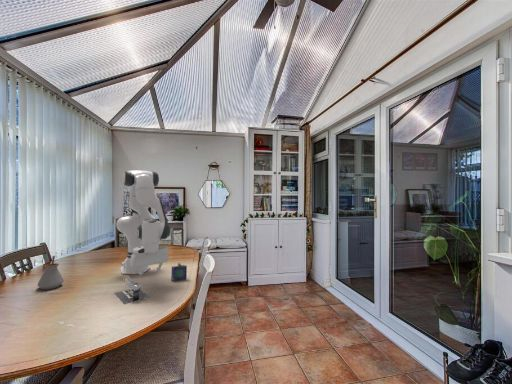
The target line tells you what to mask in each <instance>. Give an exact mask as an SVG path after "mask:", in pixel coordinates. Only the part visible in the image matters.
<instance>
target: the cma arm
mask: <svg viewBox="0 0 512 384" xmlns="http://www.w3.org/2000/svg"><path fill="white" fill-rule="evenodd" d="M122 282H123V283H125V284H126V285H127V286H128V287H129V289H131V291H133V292H135V291H139V290H142V284H141V283H137V281H135V280H134V279H133V278H131V276H130V274H127V275H125V276H122Z"/></svg>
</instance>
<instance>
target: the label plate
mask: <svg viewBox="0 0 512 384" xmlns="http://www.w3.org/2000/svg"><path fill="white" fill-rule="evenodd" d="M129 289H130V290H129ZM129 289H125V290H126V291H125V290H122V291H123V293H124V294H125V295H127V294H131V293H133V291H131V288H129Z"/></svg>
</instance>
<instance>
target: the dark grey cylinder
mask: <svg viewBox="0 0 512 384" xmlns="http://www.w3.org/2000/svg"><path fill="white" fill-rule="evenodd" d="M133 300H134V302H136V301H135V300H138V301H140V300H139V291H135V292H133Z"/></svg>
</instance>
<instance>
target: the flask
mask: <svg viewBox="0 0 512 384" xmlns="http://www.w3.org/2000/svg"><path fill="white" fill-rule="evenodd" d="M187 267H188V266H187V265H186V264H181V262H178V263H177V265H172V266H171V277H170V278H171V279H170V280H171V282H179V281H186V280H187V278H188V277H187V274H188V271H187Z"/></svg>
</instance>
